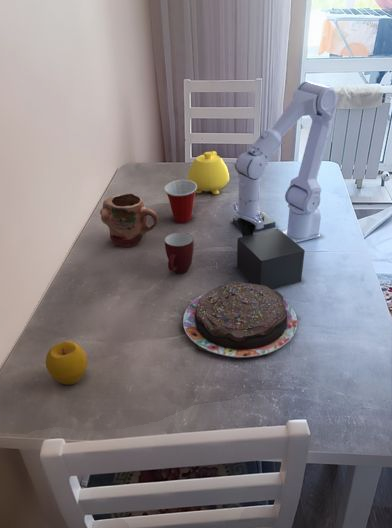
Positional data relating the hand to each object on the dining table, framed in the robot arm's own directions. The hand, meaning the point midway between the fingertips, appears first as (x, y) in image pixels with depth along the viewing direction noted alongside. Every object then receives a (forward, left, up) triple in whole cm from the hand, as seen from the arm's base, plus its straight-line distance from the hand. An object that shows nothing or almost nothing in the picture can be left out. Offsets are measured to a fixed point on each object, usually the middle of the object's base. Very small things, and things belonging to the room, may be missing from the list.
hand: (247, 240), depth 142 cm
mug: (+22, +1, -5) cm, 22 cm away
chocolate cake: (+17, +29, -5) cm, 34 cm away
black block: (0, +13, -4) cm, 14 cm away
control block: (-11, -16, -4) cm, 20 cm away
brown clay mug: (+29, -23, -5) cm, 37 cm away
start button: (-11, -16, -1) cm, 20 cm away
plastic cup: (+9, -30, -5) cm, 32 cm away
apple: (+59, +31, -5) cm, 67 cm away
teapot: (-11, -52, -5) cm, 53 cm away
